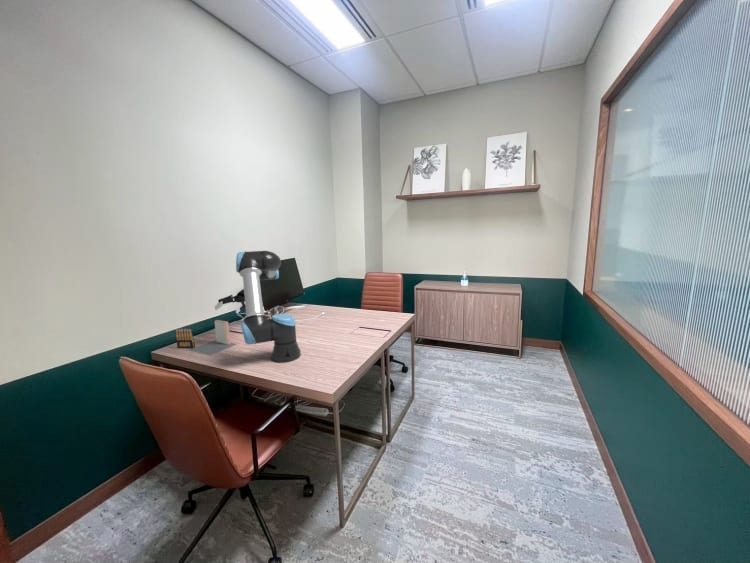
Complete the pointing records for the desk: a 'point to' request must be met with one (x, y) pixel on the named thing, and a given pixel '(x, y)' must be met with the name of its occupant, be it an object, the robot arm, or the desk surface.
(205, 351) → the rubber mat
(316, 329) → the desk surface
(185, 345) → the ammunition clip
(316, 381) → the desk surface
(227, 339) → the pale rectangular block
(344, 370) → the desk surface
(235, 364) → the desk surface
